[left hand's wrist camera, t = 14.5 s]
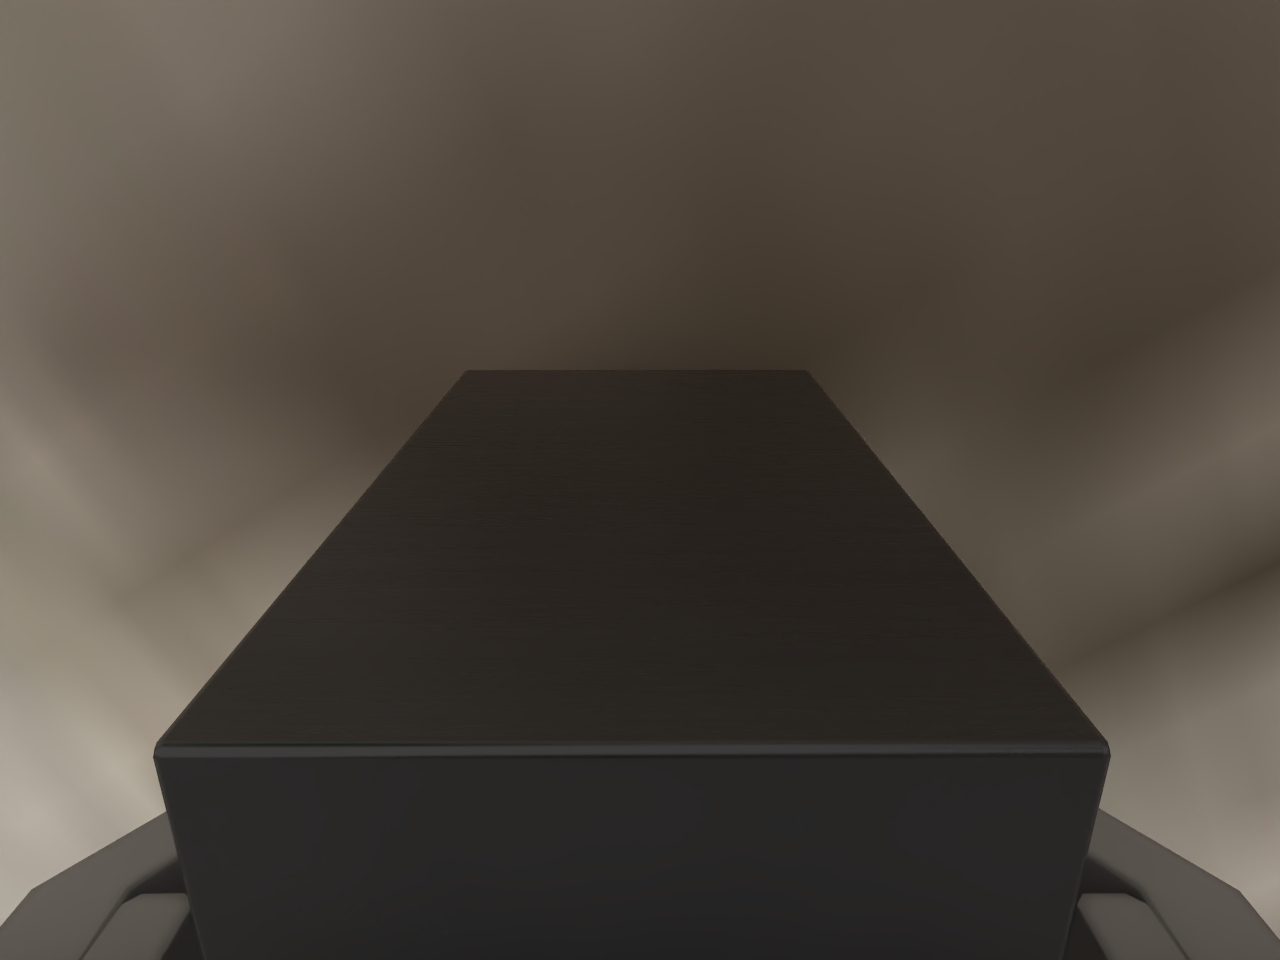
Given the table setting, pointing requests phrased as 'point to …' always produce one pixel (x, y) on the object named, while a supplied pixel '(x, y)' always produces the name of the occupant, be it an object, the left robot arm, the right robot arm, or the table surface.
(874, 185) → the table surface
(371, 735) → the bar
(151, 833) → the left robot arm
